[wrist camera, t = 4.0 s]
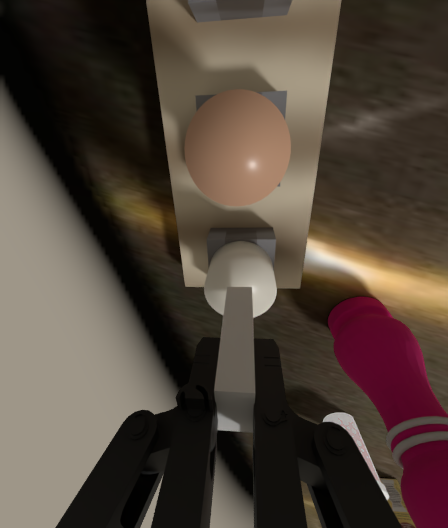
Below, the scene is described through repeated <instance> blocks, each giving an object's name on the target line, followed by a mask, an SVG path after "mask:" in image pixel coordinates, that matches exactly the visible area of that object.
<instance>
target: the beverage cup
mask: <svg viewBox="0 0 448 528" xmlns="http://www.w3.org/2000/svg"><path fill="white" fill-rule="evenodd" d="M323 422H334V423H336V424H339V425H341V426H342V427H343V428H344V429H346V430H347V431H348V433H349V434H350V435H351V437H352V438H353V439H354V441H355V443H356V445H357V447H358V448H359V450H360V452H361V454H362V456H363V458H364V459H365V461H366V463H367V465H368V467H369V468H370V470H371V472H372V474H373V476H374V477H375V479H376V481H377V483H378V485H379V486H380V488H381V490H382V492H383V494H384V496H385V497H386V499H387V500H388V498H389V495H388V493H387V490H386V488H385V486H384V484H382V483H381V481H380V479H379V477H378V474H377V472H376V470H375V467H374V465H373V463H372V460H371V458H370V456H369V453H368V451H367V449H366V446H365V444H364V442H363V439H362V437H361V435H360V432H359V430H358V428H357V426H356V423H355V421H354V419H353V417H352V416H351V415H349V414H347V413H338V412H337V413H332V414H329V415H327V416H326V417H325V418H324V419H323Z"/></svg>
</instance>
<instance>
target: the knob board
mask: <svg viewBox="0 0 448 528" xmlns="http://www.w3.org/2000/svg"><path fill="white" fill-rule="evenodd" d="M146 4H147V11H148V18H149V26H150V33H151V40H152V47H153V55H154V62H155V69H156V76H157V84H158V91H159V98H160V105H161V113H162V120H163V127H164V135H165V142H166V149H167V156H168V164H169V171H170V178H171V185H172V193H173V200H174V207H175V214H176V222H177V229H178V236H179V244H180V251H181V258H182V265H183V273H184V280H185V287H204V285H205V281H206V277H207V273H208V270H209V266H210V262H211V259H212V257H213V255H214V254H215V252H216V251H217V250H218V249H219V248H220V247H222V246H224V245H225V244H228V243H231V242H235V241H247V242H251V243H254V244H256V245H258V246H260V247H261V248H263V249H264V250H265V251H266V252H267V254H268V255H269V257H270V259H271V261H272V266H273V271H274V276H275V282H276V287H277V288H295V289H300V285H301V278H302V271H303V264H304V258H305V251H306V244H307V237H308V230H309V223H310V216H311V209H312V202H313V195H314V188H315V181H316V174H317V167H318V160H319V153H320V146H321V139H322V132H323V125H324V118H325V111H326V104H327V97H328V90H329V83H330V76H331V69H332V62H333V55H334V48H335V41H336V34H337V27H338V20H339V13H340V6H341V0H146ZM234 89H244V90H249V91H253V92H256V93H259V94H261V95H262V96H264V97H266V98H267V99H269V100H270V101H271V102H272V103H273V104H274V105H275V106H276V107H277V108H278V109H279V111H280V112H281V114H282V115H283V117H284V119H285V121H286V123H287V126H288V129H289V134H290V140H291V154H290V160H289V164H288V167H287V170H286V172H285V175H284V177H283V178H282V180H281V182H280V183H279V184H278V186H277V187H276V188H275V189H274V190H273V191H272V192H271V193H270V194H269V195H268V196H266V197H265V198H263V199H262V200H260V201H258V202H256V203H253V204H250V205H246V206H228V205H223V204H220V203H218V202H215V201H213V200H212V199H210V198H209V197H207V196H206V195H205V194H204V193H202V192H201V190H200V189H199V188H198V187H197V186H196V184H195V183H194V181H193V180H192V178H191V176H190V174H189V171H188V168H187V165H186V160H185V150H184V147H185V138H186V133H187V130H188V127H189V124H190V122H191V120H192V118H193V116H194V115H195V113H196V112H197V110H198V109H199V108H200V107H201V106H202V105H203V104H204V103H205V102H206V101H207V100H209V99H210V98H212V97H213V96H215V95H217V94H219V93H221V92H224V91H228V90H234Z"/></svg>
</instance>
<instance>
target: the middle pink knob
mask: <svg viewBox="0 0 448 528" xmlns="http://www.w3.org/2000/svg"><path fill="white" fill-rule="evenodd" d="M184 150H185V160H186V165H187V168H188V171H189V174H190V176H191V178H192V180H193V181H194V183H195V184H196V186H197V187H198V188H199V189H200V190H201V192H202V193H204V194H205V195H206V196H207V197H209V198H210V199H212V200H213V201H215V202H218V203H220V204H223V205H228V206H246V205H250V204H253V203H256V202H258V201H260V200H262V199H263V198H265V197H266V196H268V195H269V194H270V193H271V192H272V191H273V190H274V189H275V188H276V187H277V186H278V184H279V183H280V182H281V180H282V178H283V177H284V175H285V172H286V170H287V167H288V164H289V160H290V154H291V140H290V134H289V129H288V126H287V123H286V121H285V119H284V117H283V115H282V114H281V112H280V111H279V109H278V108H277V107H276V106H275V105H274V104H273V103H272V102H271V101H270V100H269V99H267V98H266V97H264V96H262V95H261V94H259V93H256V92H253V91H249V90H244V89H234V90H228V91H224V92H221V93H219V94H217V95H215V96H213V97H212V98H210V99H209V100H207V101H206V102H205V103H204V104H203V105H202V106H201V107H200V108H199V109H198V110H197V112H196V113H195V115H194V116H193V118H192V120H191V122H190V124H189V127H188V130H187V133H186V138H185V147H184Z"/></svg>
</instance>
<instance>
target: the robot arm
mask: <svg viewBox="0 0 448 528" xmlns="http://www.w3.org/2000/svg"><path fill="white" fill-rule="evenodd" d="M176 401H177V405H178V406H177V407H175V408H174V409H171V410H169V411H166V412H162V413H159V414H155V415H154V414H153V413H152V412H150V411H148V410H140V411H137V412H134V413H133V414H131V415H130V416H128V418H127V419H126V420H125V421H124V422H123V424H122V425H121V427H120V428H119V430H118V432H117V433H116V435H115V436H114V438H113V439H112V441H111V442H110V444H109V445H108V447H107V448H106V450H105V452H104V453H103V455H102V456H101V458H100V460H99V461H98V462H97V464H96V466H95V467H94V469H93V470H92V472H91V473H90V475H89V476H88V478H87V480H86V481H85V483H84V484H83V486H82V487H81V489H80V491H79V492H78V494H77V495H76V497H75V498H74V500H73V501H72V503H71V504H70V506H69V508H68V509H67V511H66V512H65V514H64V515H63V517H62V518H61V520H60V522H59V523H58V525H57V526H56V528H140V527H141V524H142V522H143V520H144V517H145V515H146V513H147V510H148V508H149V506H150V504H151V501H152V499H153V496H154V494H155V492H156V490H157V487H158V485H159V483H160V481H161V478H162V476H163V479H162V483H161V488H160V492H159V496H158V500H157V505H156V508H155V513H154V517H153V521H152V525H151V528H210V516H211V506H212V495H213V484H214V473H215V462H216V450H217V443H216V437H217V428H218V430H226V431H240V432H253V458H252V459H253V485H254V486H253V487H254V488H253V489H254V528H307V522H306V515H305V509H304V502H303V495H302V488H301V481H303V482H305V483H307V486H308V489H309V491H310V494H311V497H312V500H313V503H314V506H315V508H316V511H317V514H318V517H319V520H320V523H321V525H322V528H402V526H401V524H400V523H399V521H398V519H397V517H396V515H395V514H394V512H393V510H392V508H391V506H390V505H389V503H388V501H387V499H386V497H385V496H384V494H383V492H382V490H381V488H380V486H379V485H378V483H377V481H376V479H375V477H374V476H373V474H372V472H371V470H370V468H369V467H368V465H367V463H366V461H365V459H364V458H363V456H362V454H361V452H360V450H359V448H358V447H357V445H356V443H355V441H354V439H353V438H352V437H351V435H350V434H349V433H348V431H347V430H346V429H344V428H343V427H342V426H341V425H339V424H336V423H334V422H323V423H320V424H318V425H317V424H314V423H312V422H310V421H307V420H305V419H303V418H301V417H299V416H298V415H296V414H295V413H294V412H293V411H292V410H291V408H290V407H289V405H288V403H287V400H286V396H285V389H284V382H283V375H282V368H281V361H280V354H279V348H278V346H277V344H276V343H275V341H274V340H273V339H254V332H253V300H252V287H227V291H226V299H225V307H224V315H223V323H222V331H221V338H209V337H203V338H202V339H201V341H200V342H199V343H198V345H197V348H196V353H195V357H194V362H193V366H192V370H191V375H190V380H189V383H188V384H186V385H184V386H183V387H182V388H181V389H180V390H179V392H178V394H177V396H176ZM163 474H164V475H163ZM300 480H301V481H300Z"/></svg>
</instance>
